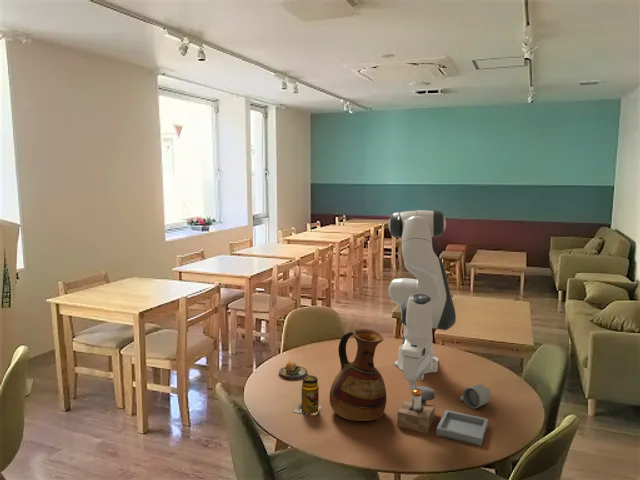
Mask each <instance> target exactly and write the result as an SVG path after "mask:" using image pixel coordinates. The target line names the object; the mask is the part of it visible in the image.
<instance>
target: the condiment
mask: <svg viewBox="0 0 640 480" xmlns="http://www.w3.org/2000/svg"><path fill="white" fill-rule="evenodd" d="M318 380H319V379H318V377H317V376H315V375H307V376H305V377H304V378H302V385H301V402H300V403H299V404H298V405H297V406H298V407H296V408H295V409H294V410H293V413H296V414H303V413H302V412H304V413H307V414H313V413H316V412H318V408H320V410H321V409H322V408H323V406H322V405H319V404H320V402H319V398H320V397H319V390H320V389H319V388H320V386H319V382H318ZM300 409H302V412H300V411H299V410H300ZM318 413H319V412H318ZM318 413H317V414H316V415H314V417H315V416H317V415H318ZM307 414H306V415H307ZM303 415H304V414H303Z"/></svg>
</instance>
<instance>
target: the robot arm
mask: <svg viewBox="0 0 640 480" xmlns="http://www.w3.org/2000/svg"><path fill="white" fill-rule="evenodd" d="M387 226H388V231H389V233H390V235H391V236H392V237H393V238H397V239H401V256H402V259H403V264H404V265H403V266H404V267H405V269H406V270H407V271H408V272H409V273H411V274H412V275H414V277H415V278H407V277H400V278H399V277H398V278H394V279H393V280H391V282H390V283H389V285H388V295H389V297H390V299H391V300H392V301H393V302H394V303H395V304H396V306H397V307H398V309H399V310H400V312H401V317H400V322H401V323H402V324H403V335H402V338H401V339H402V340H401V341H402V342H401V343H402V344H401V345H400V346H399V347H398V354H397V357H398V358H397V360H396V361H394V366H397V368H398V369H400V370H401V371H402V374H403V375H402V376H403V378H404V380H406V381H408V383H409V390H410V391H412V390H415V389H416V387H417V382H416V381H417V380H419V381H423V380H424V377H425V374H431V373H437V372H438V369H439V357H436V356H434V354H435V353H434V352H435V351H434V347H433V331H432V329H437V330H440V331H441V330H442V331H447V330H449V329H451V328H452V327H453V326H454V325H455V324H456V320H457V312H456V308H455V306H454V302H453V299H452V294H451V291H450V287H449V286H450V285H449V283H448V282H449V281H448V277H447V273H446V269H445V265H444V263H443V260H442V259H441V258H440V257H439V256H437V255H436V253H435V251H434V248H433V239H435V238H438V237H441V236H442V235H443V234H444V233H445V230H446V228H447V221H446V218H445V215H444V213H443V212H442V211H439V210H436V209H434V210H428V209H427V210H424V209H423V210H422V209H417V210H406V211H396V212H393V213H391V215H390V217H389V220H388V225H387ZM432 238H433V239H432Z"/></svg>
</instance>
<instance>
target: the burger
mask: <svg viewBox="0 0 640 480" xmlns="http://www.w3.org/2000/svg"><path fill="white" fill-rule="evenodd" d="M278 375H279V377H280V378H282V379H284V380H289V381H297V380H296V379H299V380H301V379H303V378H304V377H305V376H308V370H307V368H305V367H304V366H300V365H297V363H296V361H295V362H294V361H290V360H289V361H288V362H286V365H285V367H281V368H280V369H279V371H278Z"/></svg>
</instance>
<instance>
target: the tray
mask: <svg viewBox="0 0 640 480" xmlns="http://www.w3.org/2000/svg"><path fill="white" fill-rule="evenodd" d="M488 423H489V419H488V418H485V417H481V416H477V415H476V416H475V415H471V414H465V413H462V412H456V411H452V410H447V409H446V410H444V413H443V414H442V416H441V419H440V421H439V423H438V424H437V427H436V431H435V434H436V437H437V436H438V437H443V438H446V439H451V440H456V441H458V442H461V443H462V442H463V443H467V444H471V445H476V446H480V447H482V444H483V443H484V442H483V441H484V439H485V435H486V433H487V430H488V426H489V424H488Z"/></svg>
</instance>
